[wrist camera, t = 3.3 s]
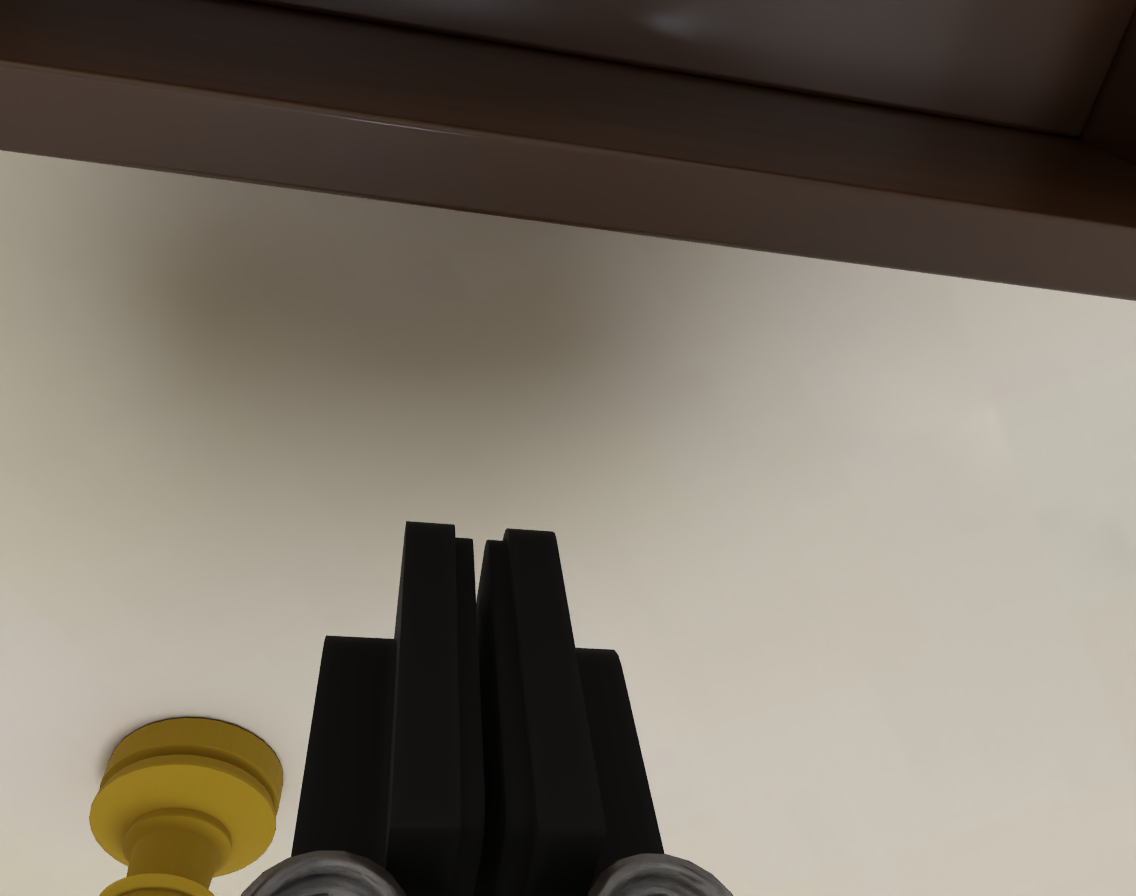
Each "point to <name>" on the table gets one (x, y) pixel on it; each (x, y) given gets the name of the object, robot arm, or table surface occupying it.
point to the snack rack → (631, 116)
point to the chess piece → (186, 806)
